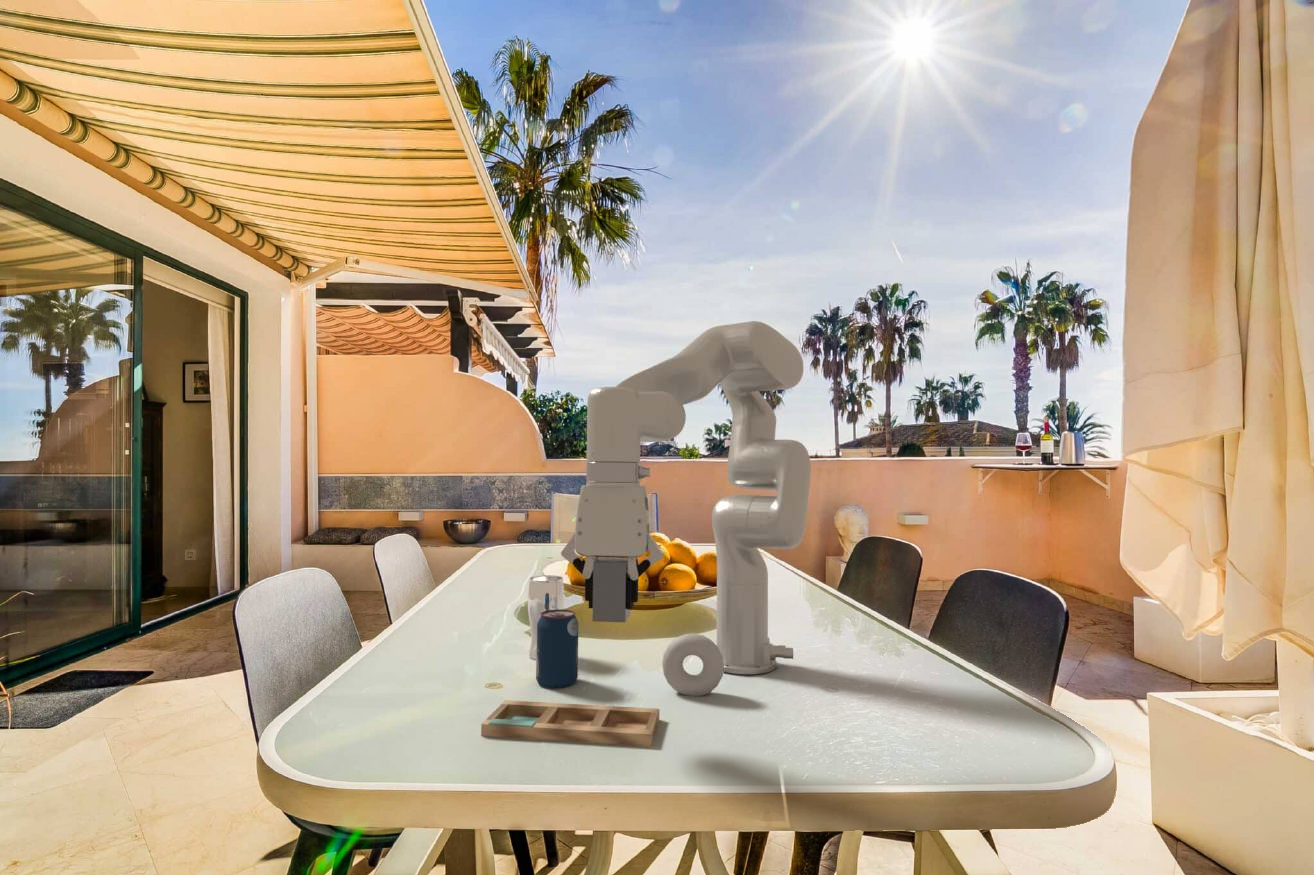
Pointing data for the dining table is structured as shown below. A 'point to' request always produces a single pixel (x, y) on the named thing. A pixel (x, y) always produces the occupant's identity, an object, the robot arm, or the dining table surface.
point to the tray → (573, 723)
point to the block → (610, 590)
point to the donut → (684, 680)
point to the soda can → (557, 649)
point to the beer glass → (543, 602)
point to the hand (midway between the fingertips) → (611, 605)
